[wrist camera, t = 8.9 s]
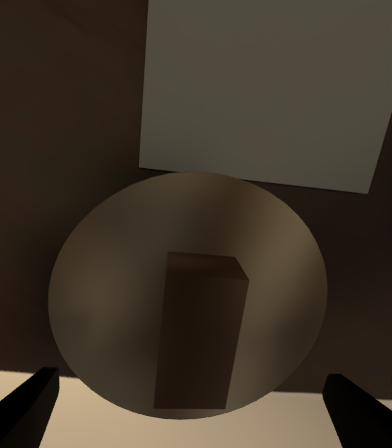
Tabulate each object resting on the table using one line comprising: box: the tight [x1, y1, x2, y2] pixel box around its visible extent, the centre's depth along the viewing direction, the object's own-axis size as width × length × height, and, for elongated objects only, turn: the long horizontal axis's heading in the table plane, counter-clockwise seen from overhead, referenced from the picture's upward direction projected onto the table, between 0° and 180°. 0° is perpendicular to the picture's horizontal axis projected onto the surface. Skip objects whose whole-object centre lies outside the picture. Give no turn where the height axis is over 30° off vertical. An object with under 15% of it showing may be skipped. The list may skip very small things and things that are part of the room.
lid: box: [48, 171, 328, 420], centre depth 11 cm, size 13×13×3 cm
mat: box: [139, 0, 392, 194], centre depth 17 cm, size 18×18×1 cm
